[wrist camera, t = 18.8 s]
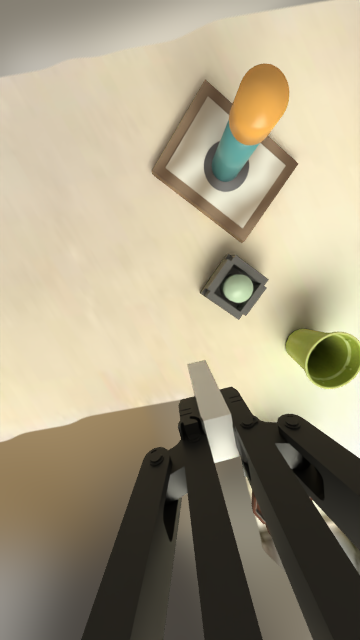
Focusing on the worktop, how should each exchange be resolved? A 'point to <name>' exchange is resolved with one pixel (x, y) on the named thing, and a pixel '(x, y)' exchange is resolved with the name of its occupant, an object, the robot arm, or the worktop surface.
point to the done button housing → (231, 267)
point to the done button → (237, 288)
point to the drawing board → (197, 176)
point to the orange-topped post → (250, 118)
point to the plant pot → (325, 356)
